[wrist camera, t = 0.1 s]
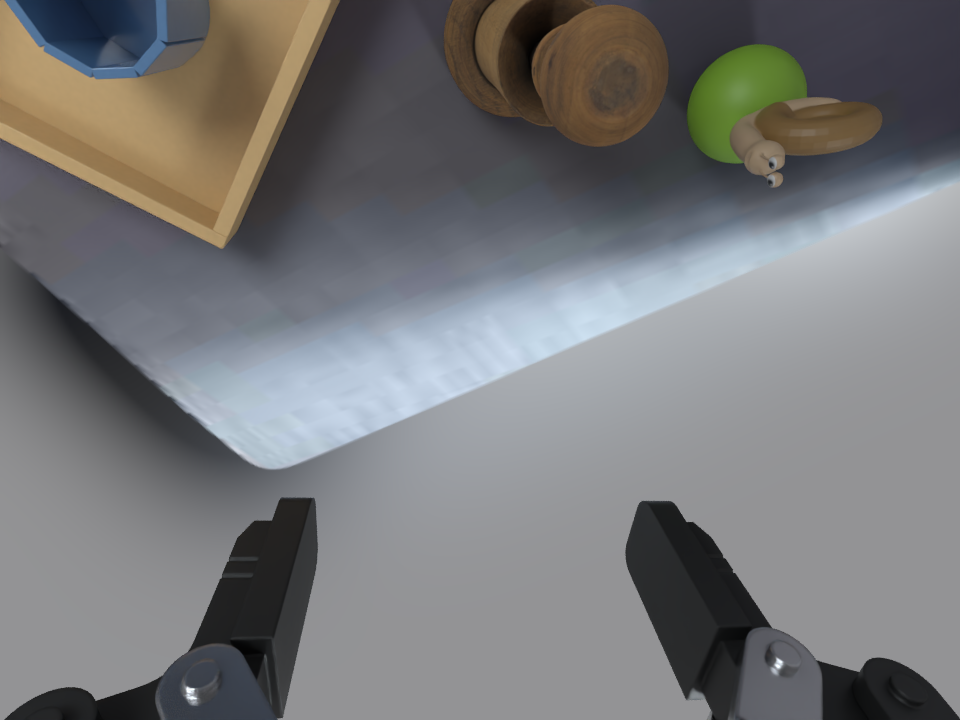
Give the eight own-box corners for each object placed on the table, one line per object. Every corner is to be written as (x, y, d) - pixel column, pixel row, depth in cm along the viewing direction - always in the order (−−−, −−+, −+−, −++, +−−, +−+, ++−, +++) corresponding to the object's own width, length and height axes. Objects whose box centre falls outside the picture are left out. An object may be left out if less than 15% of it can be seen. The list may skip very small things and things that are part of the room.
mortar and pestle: (476, 132, 29) (532, 270, 14) (420, 2, 25) (416, -1, 10) (589, 75, 27) (783, 157, 13) (548, -70, 24) (750, -190, 9)
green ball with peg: (650, 62, 27) (778, 95, 18) (772, 28, 27) (973, 41, 17) (655, 165, 30) (766, 242, 21) (764, 135, 30) (931, 199, 20)
